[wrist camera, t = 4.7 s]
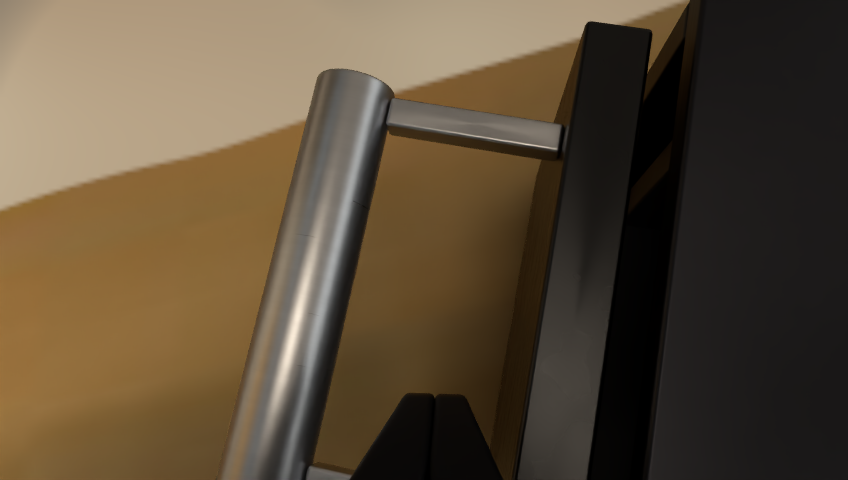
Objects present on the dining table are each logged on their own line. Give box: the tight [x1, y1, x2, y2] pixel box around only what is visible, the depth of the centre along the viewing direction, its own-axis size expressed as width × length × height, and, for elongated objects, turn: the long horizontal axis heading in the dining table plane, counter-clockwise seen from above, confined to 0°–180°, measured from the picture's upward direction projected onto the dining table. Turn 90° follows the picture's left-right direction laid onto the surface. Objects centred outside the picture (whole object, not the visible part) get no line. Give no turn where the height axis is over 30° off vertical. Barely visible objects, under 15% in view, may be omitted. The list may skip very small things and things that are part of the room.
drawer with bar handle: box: [216, 22, 672, 480], centre depth 14 cm, size 18×11×9 cm, turn 79°
